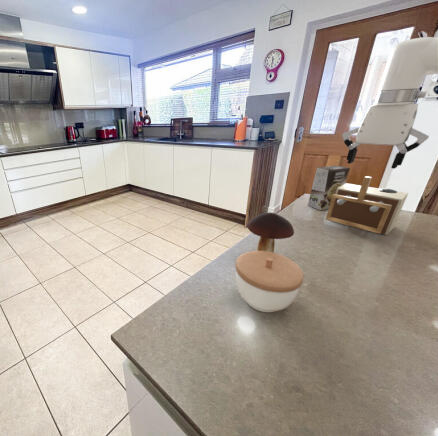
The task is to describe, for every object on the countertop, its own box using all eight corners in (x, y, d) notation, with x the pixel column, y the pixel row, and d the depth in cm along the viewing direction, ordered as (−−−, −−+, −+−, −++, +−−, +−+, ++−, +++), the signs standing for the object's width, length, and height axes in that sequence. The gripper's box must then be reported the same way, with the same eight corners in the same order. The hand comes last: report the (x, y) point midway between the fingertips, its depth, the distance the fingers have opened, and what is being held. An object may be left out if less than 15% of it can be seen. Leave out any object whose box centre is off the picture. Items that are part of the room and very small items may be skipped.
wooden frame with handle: (381, 232, 70) (402, 180, 64) (379, 234, 70) (401, 182, 63) (326, 218, 81) (340, 172, 74) (325, 219, 80) (338, 173, 73)
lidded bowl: (286, 334, 44) (298, 289, 40) (222, 303, 52) (227, 263, 47) (300, 296, 53) (311, 255, 48) (243, 274, 60) (249, 237, 56)
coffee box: (320, 210, 92) (332, 170, 86) (306, 205, 98) (316, 167, 91) (338, 207, 94) (351, 167, 88) (324, 202, 100) (334, 164, 93)
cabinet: (393, 227, 78) (408, 193, 73) (378, 245, 69) (394, 208, 64) (336, 213, 90) (345, 183, 85) (317, 227, 81) (326, 194, 75)
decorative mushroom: (240, 250, 71) (246, 204, 64) (280, 254, 68) (291, 206, 61) (243, 272, 61) (250, 221, 55) (290, 278, 58) (304, 224, 52)
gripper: (448, 95, 55) (417, 167, 63) (357, 100, 68) (339, 159, 75) (444, 96, 52) (411, 172, 59) (348, 100, 64) (330, 163, 72)
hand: (371, 165), depth 67 cm, fingers open, 9 cm apart
